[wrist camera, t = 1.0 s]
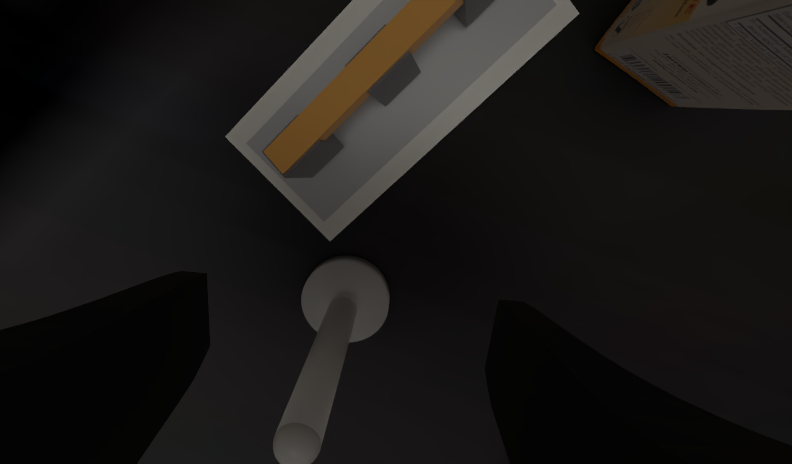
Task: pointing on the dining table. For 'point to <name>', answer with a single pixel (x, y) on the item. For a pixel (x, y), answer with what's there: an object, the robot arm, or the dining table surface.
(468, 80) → the tray
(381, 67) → the bar
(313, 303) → the grey stand
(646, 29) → the supplement box
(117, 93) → the dining table surface
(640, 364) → the dining table surface
